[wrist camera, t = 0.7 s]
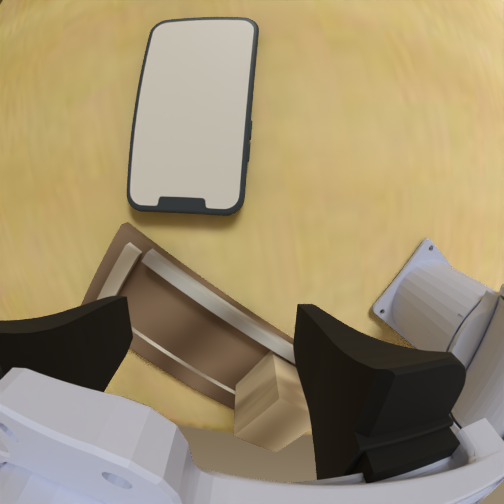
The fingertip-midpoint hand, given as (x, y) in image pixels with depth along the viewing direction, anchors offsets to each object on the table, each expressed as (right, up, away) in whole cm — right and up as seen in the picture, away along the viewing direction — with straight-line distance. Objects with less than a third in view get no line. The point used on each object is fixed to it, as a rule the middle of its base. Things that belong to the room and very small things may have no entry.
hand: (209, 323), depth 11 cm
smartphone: (-3, +14, +8) cm, 16 cm away
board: (-3, -4, +11) cm, 12 cm away
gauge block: (+3, -8, +11) cm, 14 cm away
